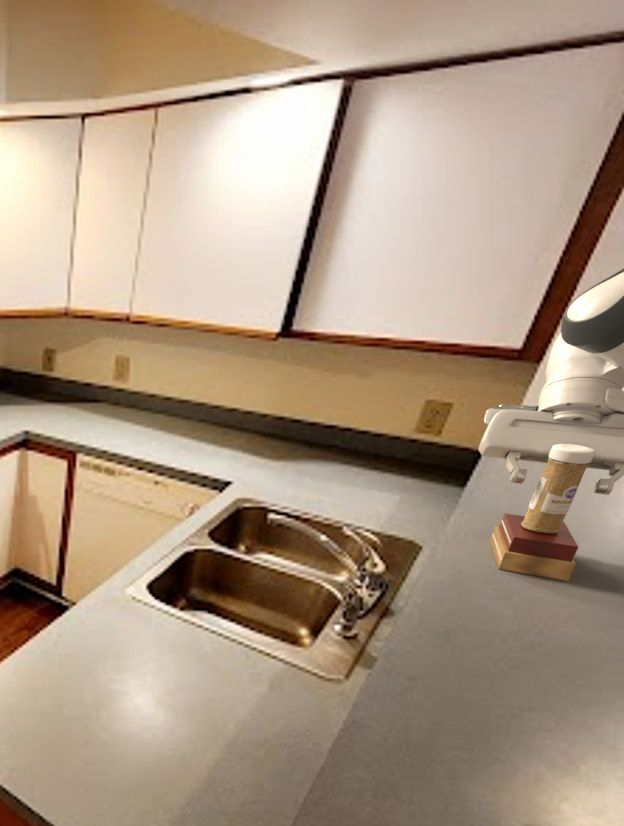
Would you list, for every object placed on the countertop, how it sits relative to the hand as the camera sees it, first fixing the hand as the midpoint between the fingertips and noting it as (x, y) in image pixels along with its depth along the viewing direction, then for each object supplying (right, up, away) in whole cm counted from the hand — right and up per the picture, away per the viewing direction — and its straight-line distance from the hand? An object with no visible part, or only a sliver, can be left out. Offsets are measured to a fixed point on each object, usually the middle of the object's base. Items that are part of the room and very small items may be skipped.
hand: (558, 486), depth 95 cm
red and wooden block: (+1, -11, +6) cm, 13 cm away
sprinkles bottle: (+1, -7, +4) cm, 8 cm away
